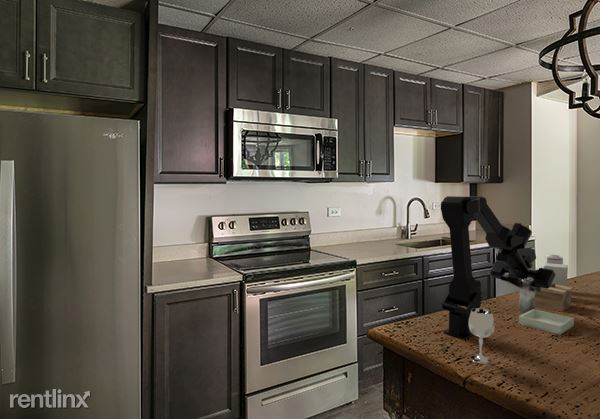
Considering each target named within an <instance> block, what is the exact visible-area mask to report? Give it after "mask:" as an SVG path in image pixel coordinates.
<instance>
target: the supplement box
mask: <svg viewBox="0 0 600 419" xmlns="http://www.w3.org/2000/svg"><path fill="white" fill-rule="evenodd" d="M568 266H569V265H568V264H564V263H563V264H552V263H546V264H545V265H544V264H543V268H546V269H553V271H554V273H555V274H556V275H555V277H554V279H553V282H552V284H556V285H562V286H568V272H569V271H568V270H569V268H568Z"/></svg>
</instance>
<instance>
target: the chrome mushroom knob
mask: <svg viewBox="0 0 600 419" xmlns="http://www.w3.org/2000/svg"><path fill="white" fill-rule="evenodd" d="M519 281H520V288H519V301H518V302H519V303H518V306H519V307H518V311H519V312H520V313H522V312H523V313H522V314H524V313H526V312H528V311H530V310H532V309H536V306H535V294H536V290H535V289H534V288H532V287H531V286H530V285H531V283H532V281H533V280H532V278H531V277H527V279H524V280H522V279H519Z"/></svg>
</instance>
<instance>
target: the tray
mask: <svg viewBox="0 0 600 419" xmlns="http://www.w3.org/2000/svg"><path fill="white" fill-rule="evenodd" d="M574 322H575V317H572V316H568V315H562V314H558V313H554V312H549V311H544V310H541V309H536V308H535V309H532V310H530V311H528V312H526V313H522V314H520V315H518V325H520V324H521V326H525V327H529V328H532V329H537V330H540V331H543V332H548V333H551V334H556V335H559V336H561V335H562V334H564V333H565V332H567V331H568V330H570V329H572V328H573V327H574V325H575V323H574Z"/></svg>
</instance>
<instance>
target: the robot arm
mask: <svg viewBox="0 0 600 419" xmlns="http://www.w3.org/2000/svg"><path fill="white" fill-rule="evenodd" d="M440 212H441V216H442V220H443V222H444V223H445V224H446V226H447V227H448V228H449V229H448V230H449V239H450V247H451V249H450V250H451V260H452V270H453V271H452V272H453V274H452V275H453V277H452V279H451V281H450V282H449V284H448V291H447V293H446V295H445V297H444V298H443V300H442V302H441V308H442V311H446V312H447V311H448V328H447V329H444V330H443V333H444V334H446V335H447V334H448V335H450V336H453V337H456V338H460V339H468V338H470V337H472V336H475V335H474V334H472V333H471V331H470V330H469V325H468V322H469V316H470V312H471V310H472V309H474V308H481V304H482V298H483V297H482V295H483V292H482V283H481V281H480V280H478V279H475V278H474V276H473V269H472V268H473V267H472V266H473V265H472V256H471V255H472V254H471V241H470V232H469V231H470V229H469V226H470V225H471V223H472V222H473V220H474V218H475V220H476V221H477V222H478V224H479V225H480V227H481V228H482V230H483V231H484V232H485V238H484V239H485V241H486V243H487V245H488V247H489V248H490V249H496V250H497V255H496V256H495V261H494V263H493V265H492V267H491V268H490V271H489V272H490V275H491V277H492V278H494V279H499V280H501V281H503V282H506V283H508V284H510V285H512V286H515V287H517V288H519V289H520V281H519V279H522V280H524V279H527V278H532V280H533V281H532V283H531V285H530V286H531V287H532V288H534V289H535V290H536V291H538V292H540V290H541V288H546V289H547V288H550V286H551V284H552V282H553V279H554V277H555V275H556V274H555V273H554V271H553V269H546V268H544V267H539V268H538V269H536V270H535V269H534V270H532V267H533V266H534V265H533V263H534V261H535V260H537V256H536V250H535V249H534V248H529V247H526V245H527V244H528V241H529V240H530V238H531V236H532V234H533V231H532V230H531V229H530V228H529V227H528V226H525V225H523V224H522V223H520V222H515V223H513V226H512V228H511V229H510V228H509V227H506V226H505V225H502V223H501V222H500V221H499V219H498V218H497V216H496V214H495V213H494V212H493V210H492V209H491V207H490V206H489V204H488V203H487V198H486V197H483V196H476V195H475V196H474V195H473V196H472V195H469V196H459V195H458V196H455V195H453V196H451V195H448V196H445V197H444V198H443V200H442V201H441V203H440Z"/></svg>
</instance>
